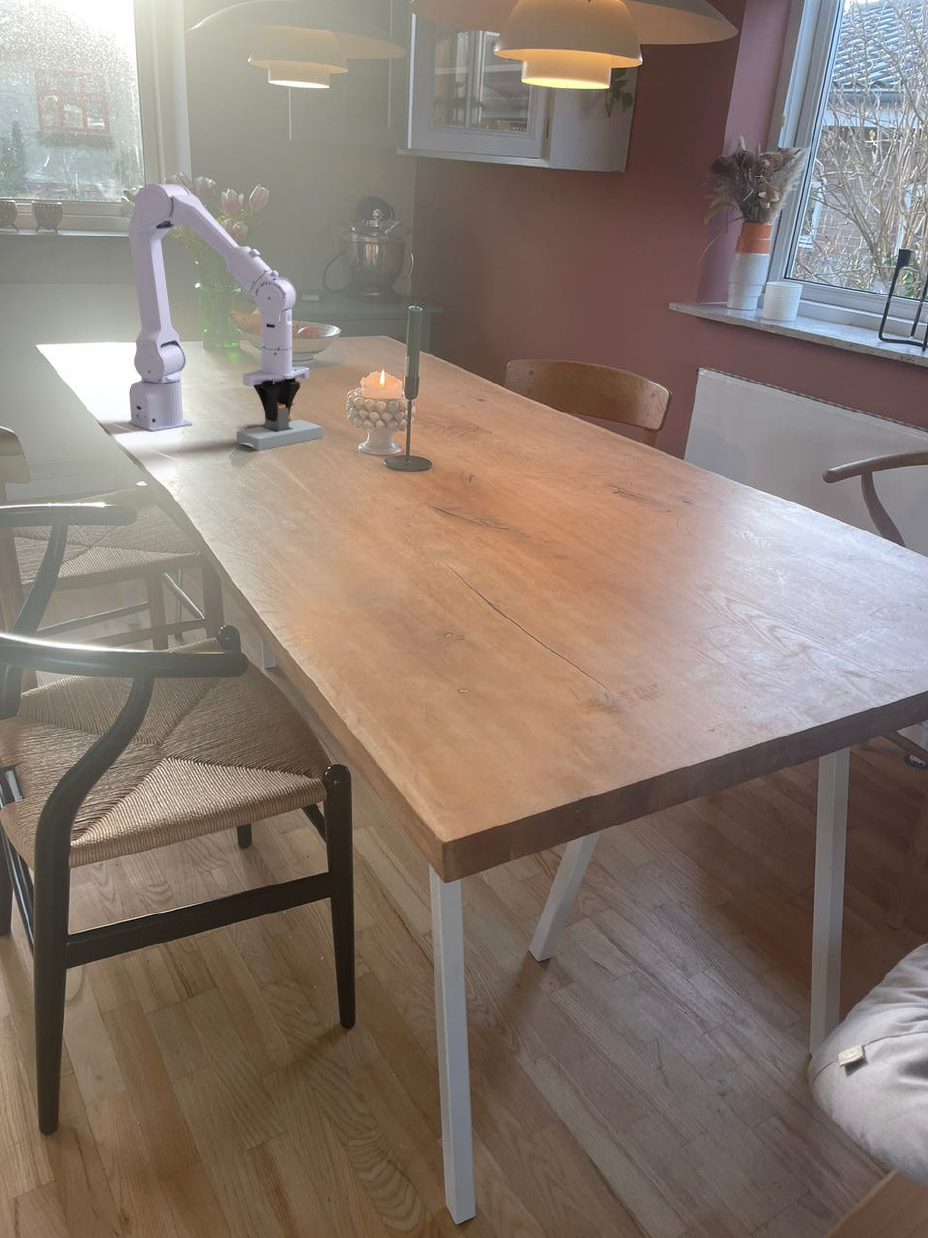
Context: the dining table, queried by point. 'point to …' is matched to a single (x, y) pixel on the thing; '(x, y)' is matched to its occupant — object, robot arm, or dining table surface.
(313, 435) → the board
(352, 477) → the dining table surface
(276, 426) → the grey rectangular block
